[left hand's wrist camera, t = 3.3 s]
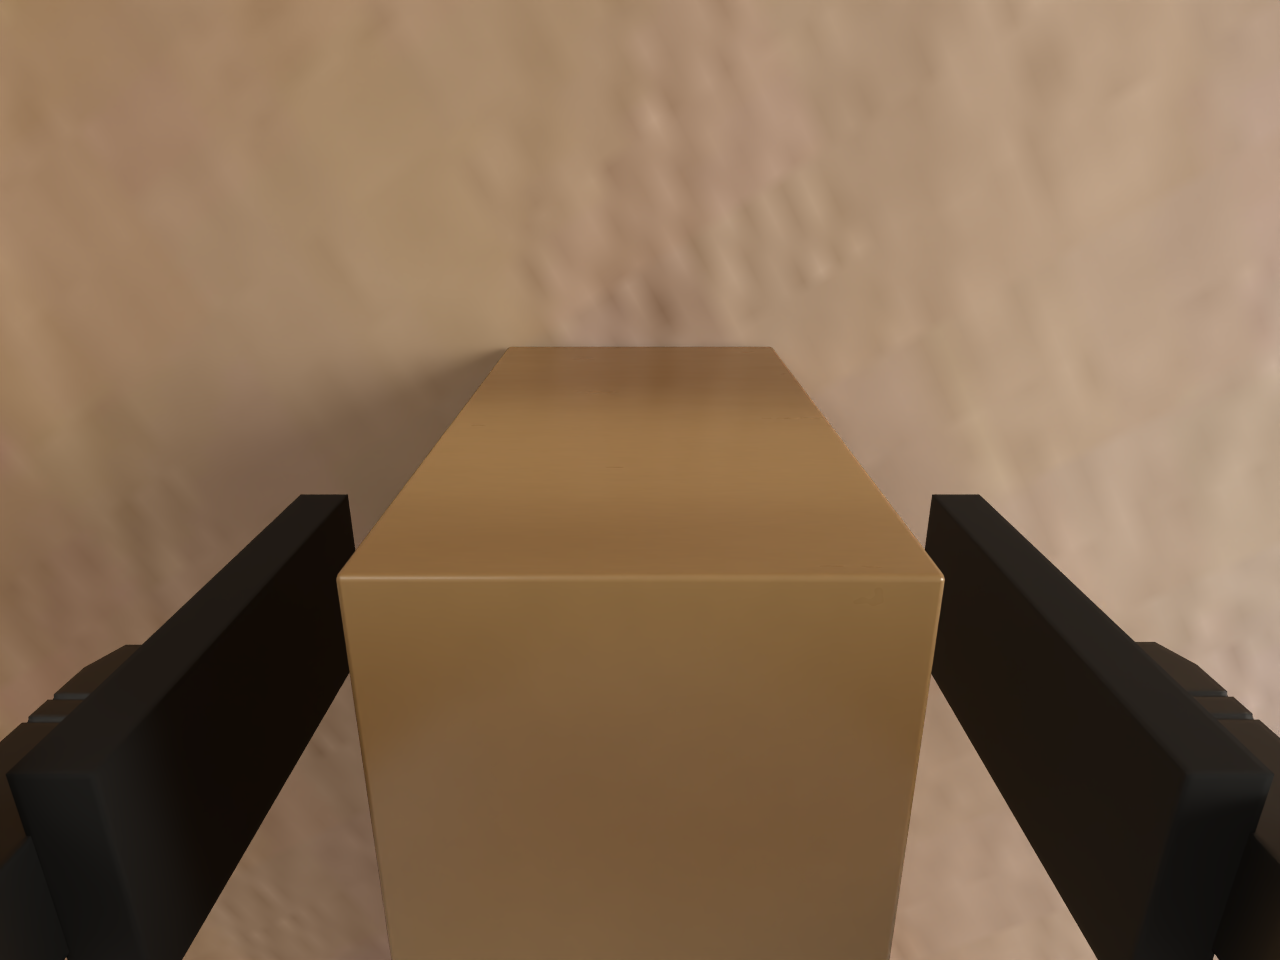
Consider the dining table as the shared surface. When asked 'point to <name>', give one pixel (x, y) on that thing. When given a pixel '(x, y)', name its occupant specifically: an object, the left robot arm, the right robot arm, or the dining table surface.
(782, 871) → the bar
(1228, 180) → the dining table surface
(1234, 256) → the dining table surface
